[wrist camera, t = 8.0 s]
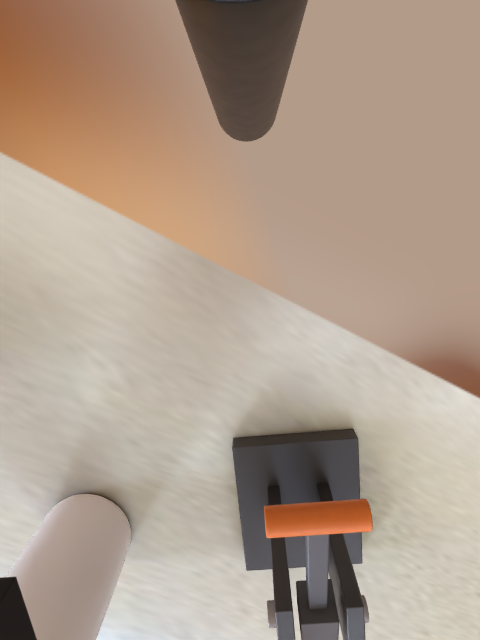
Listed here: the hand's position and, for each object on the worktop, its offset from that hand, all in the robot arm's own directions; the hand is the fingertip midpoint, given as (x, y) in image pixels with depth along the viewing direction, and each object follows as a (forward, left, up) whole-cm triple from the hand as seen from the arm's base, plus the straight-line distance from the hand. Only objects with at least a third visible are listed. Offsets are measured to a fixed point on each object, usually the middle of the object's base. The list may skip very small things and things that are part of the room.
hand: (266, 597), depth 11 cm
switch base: (+14, +5, -23) cm, 27 cm away
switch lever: (+9, +4, -12) cm, 15 cm away
